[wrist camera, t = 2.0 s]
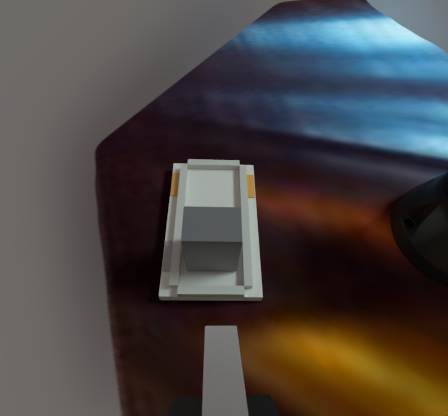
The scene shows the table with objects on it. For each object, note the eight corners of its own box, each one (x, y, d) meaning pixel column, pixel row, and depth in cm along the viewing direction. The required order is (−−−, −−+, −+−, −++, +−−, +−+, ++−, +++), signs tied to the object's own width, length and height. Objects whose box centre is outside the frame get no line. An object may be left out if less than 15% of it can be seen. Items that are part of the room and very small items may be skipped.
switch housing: (260, 300, 36) (264, 294, 34) (160, 300, 36) (157, 293, 34) (252, 171, 47) (254, 160, 45) (174, 169, 47) (173, 158, 45)
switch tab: (236, 271, 36) (242, 241, 30) (186, 270, 36) (180, 240, 29) (235, 241, 38) (241, 207, 32) (188, 240, 38) (183, 206, 31)
